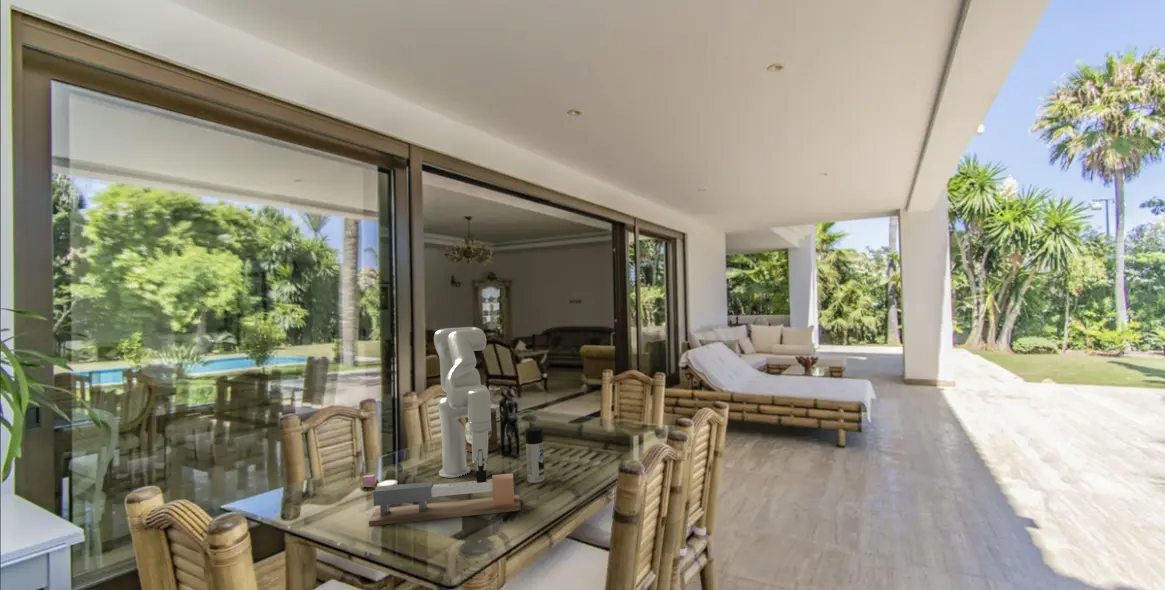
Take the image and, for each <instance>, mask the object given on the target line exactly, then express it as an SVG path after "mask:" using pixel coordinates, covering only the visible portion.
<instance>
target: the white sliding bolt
mask: <svg viewBox="0 0 1165 590" xmlns="http://www.w3.org/2000/svg"><path fill="white" fill-rule="evenodd" d="M478 464H479V463H478ZM482 464H483V463H482ZM486 467H487V461H486V462H485V470H486ZM487 477H488V476H487ZM487 477H486V482H483V483H477V480H469V481H459V482H458V481H457V482H450V483H448V482H447V483H435V484H432V486H431V497H432V498H434V497H435V498H436V497H446V496H448V497H449V496H456V495H464V494H465V495H467V494H477V493H487V492H493V487H492V478H491V479H487Z"/></svg>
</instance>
